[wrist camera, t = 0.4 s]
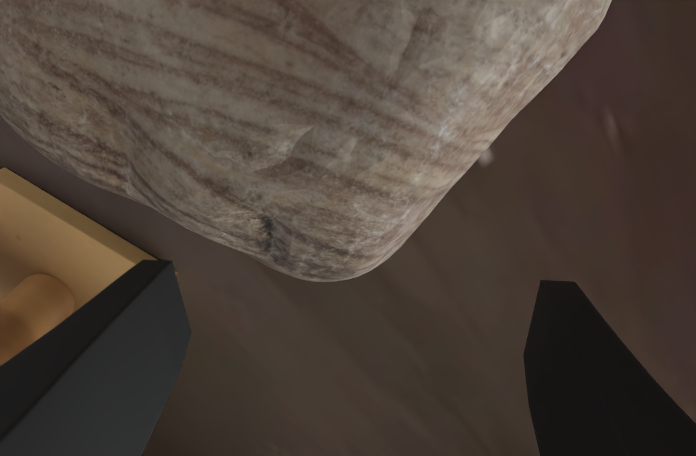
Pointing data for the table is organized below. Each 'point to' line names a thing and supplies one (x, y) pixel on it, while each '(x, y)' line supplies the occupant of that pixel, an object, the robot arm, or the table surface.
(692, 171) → the table surface
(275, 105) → the stone
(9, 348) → the peg stand
